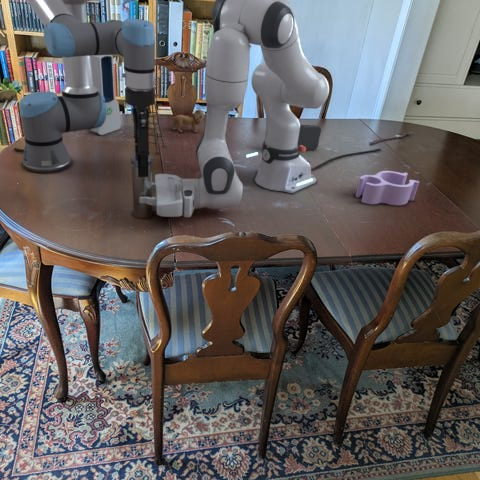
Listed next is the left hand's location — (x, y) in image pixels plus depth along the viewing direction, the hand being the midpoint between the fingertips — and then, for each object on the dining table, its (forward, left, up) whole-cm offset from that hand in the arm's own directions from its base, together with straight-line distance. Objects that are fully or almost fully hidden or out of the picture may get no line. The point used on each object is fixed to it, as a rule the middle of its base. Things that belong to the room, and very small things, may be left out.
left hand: (141, 171), depth 130 cm
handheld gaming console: (+42, +67, -14) cm, 80 cm away
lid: (0, 0, +4) cm, 4 cm away
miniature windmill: (-12, +49, -14) cm, 52 cm away
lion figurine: (-3, +73, -14) cm, 74 cm away
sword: (+87, +96, -14) cm, 130 cm away
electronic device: (-35, +61, -14) cm, 71 cm away
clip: (+75, +34, -14) cm, 84 cm away
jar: (0, 0, -14) cm, 14 cm away
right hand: (-1, 0, -7) cm, 7 cm away
